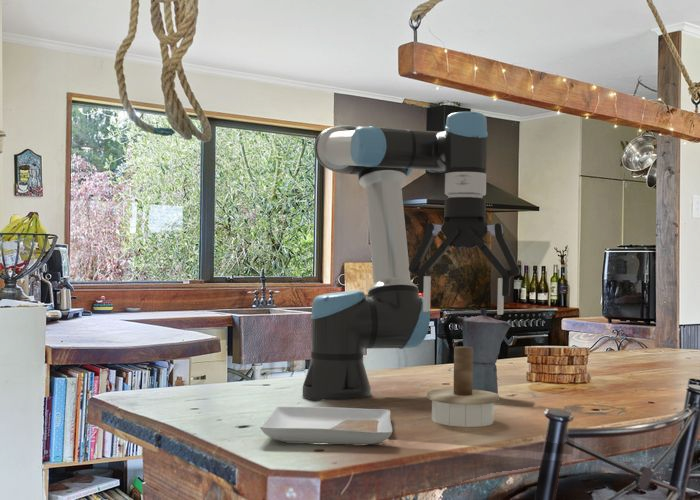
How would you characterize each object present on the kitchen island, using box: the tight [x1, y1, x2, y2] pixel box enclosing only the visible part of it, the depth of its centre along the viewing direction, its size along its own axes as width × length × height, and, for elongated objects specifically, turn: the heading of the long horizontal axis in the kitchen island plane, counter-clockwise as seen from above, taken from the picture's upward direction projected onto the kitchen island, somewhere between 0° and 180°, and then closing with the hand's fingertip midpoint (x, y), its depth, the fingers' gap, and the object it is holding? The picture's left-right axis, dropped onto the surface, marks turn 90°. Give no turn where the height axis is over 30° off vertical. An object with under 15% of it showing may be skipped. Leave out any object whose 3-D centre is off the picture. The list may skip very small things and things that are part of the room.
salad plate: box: [259, 406, 393, 445], centre depth 134 cm, size 21×21×3 cm
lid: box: [426, 346, 500, 405], centre depth 143 cm, size 13×13×9 cm
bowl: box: [431, 400, 495, 428], centre depth 143 cm, size 11×11×5 cm
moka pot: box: [443, 307, 513, 395], centre depth 177 cm, size 10×15×20 cm, turn 78°
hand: (462, 312), depth 144 cm, fingers open, 13 cm apart
